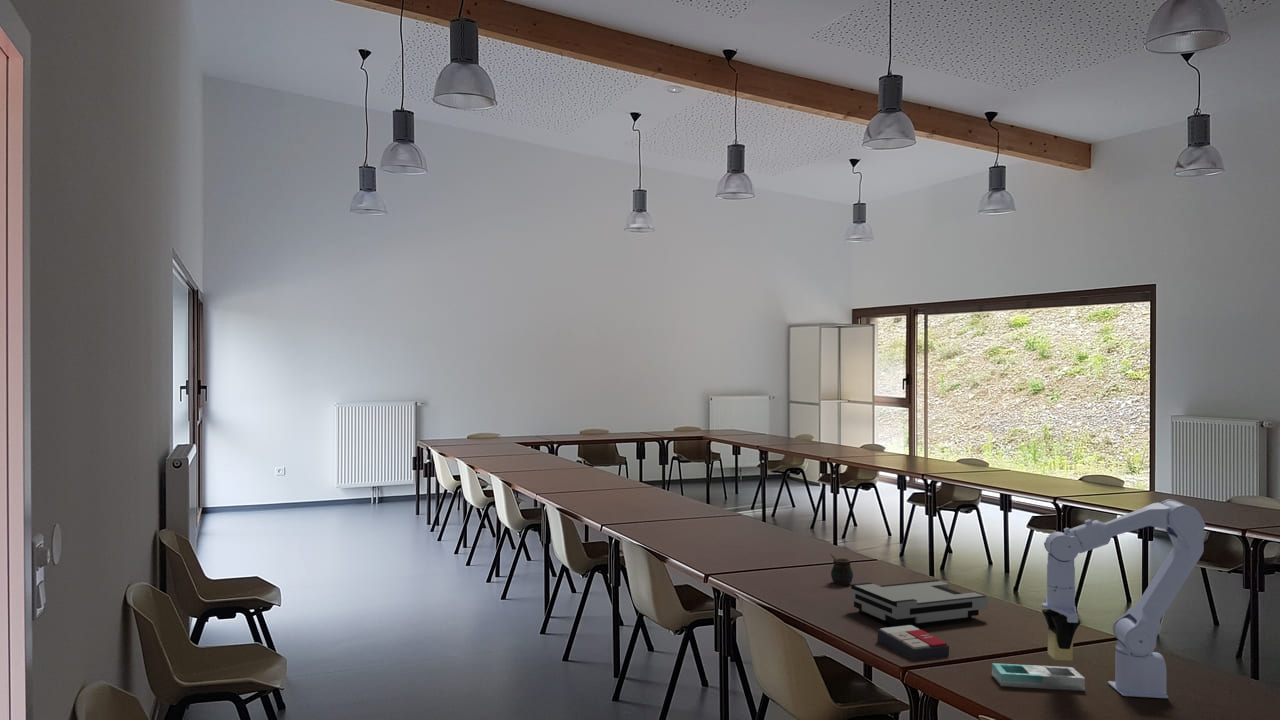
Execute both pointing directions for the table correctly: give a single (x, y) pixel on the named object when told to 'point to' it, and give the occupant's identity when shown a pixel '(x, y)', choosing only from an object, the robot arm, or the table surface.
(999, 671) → the white teal tray block
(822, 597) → the table surface
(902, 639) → the calculator
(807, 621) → the table surface
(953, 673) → the table surface
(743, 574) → the table surface
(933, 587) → the game console
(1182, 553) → the robot arm
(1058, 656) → the nut
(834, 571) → the mate gourd
